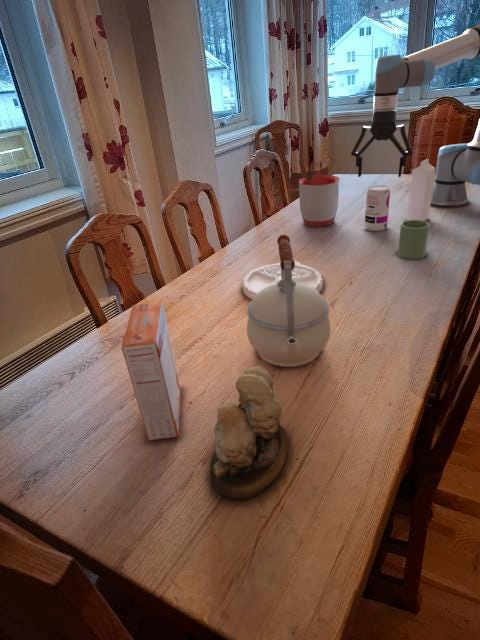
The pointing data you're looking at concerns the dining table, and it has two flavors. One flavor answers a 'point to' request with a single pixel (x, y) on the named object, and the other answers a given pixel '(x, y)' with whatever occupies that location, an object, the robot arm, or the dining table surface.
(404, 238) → the green cup
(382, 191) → the supplement can
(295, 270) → the divided serving plate
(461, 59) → the robot arm
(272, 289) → the kettle
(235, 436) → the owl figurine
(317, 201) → the citrus juicer
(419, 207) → the milk
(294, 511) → the dining table surface
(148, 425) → the cracker box
